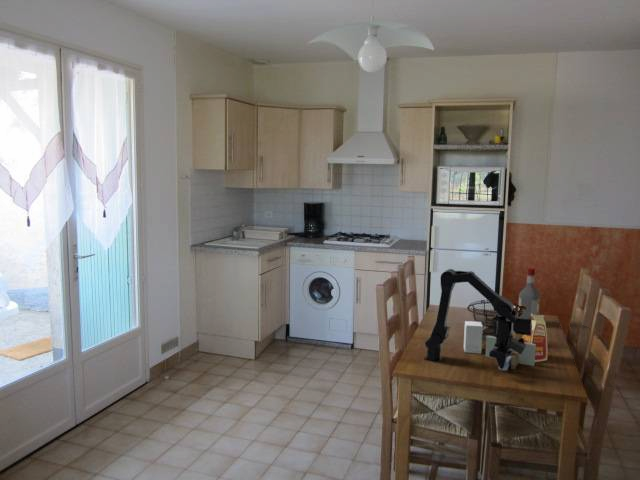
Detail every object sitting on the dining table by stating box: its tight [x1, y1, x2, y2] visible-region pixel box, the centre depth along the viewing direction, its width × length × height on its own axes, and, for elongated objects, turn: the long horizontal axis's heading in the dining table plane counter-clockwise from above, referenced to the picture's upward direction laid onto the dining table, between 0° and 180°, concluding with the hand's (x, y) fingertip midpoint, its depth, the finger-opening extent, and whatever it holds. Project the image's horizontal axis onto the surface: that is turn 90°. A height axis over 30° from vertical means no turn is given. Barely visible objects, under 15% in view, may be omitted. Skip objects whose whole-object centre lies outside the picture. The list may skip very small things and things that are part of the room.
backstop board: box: [485, 335, 536, 367], centre depth 224 cm, size 2×20×9 cm, turn 58°
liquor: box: [517, 267, 541, 318], centre depth 274 cm, size 9×9×30 cm
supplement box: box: [463, 320, 484, 354], centre depth 235 cm, size 7×7×13 cm
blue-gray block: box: [498, 356, 511, 371], centre depth 217 cm, size 9×3×3 cm, turn 147°
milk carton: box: [521, 314, 548, 363], centre depth 226 cm, size 9×9×20 cm
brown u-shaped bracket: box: [494, 351, 519, 370], centre depth 219 cm, size 7×8×5 cm
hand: (501, 368), depth 212 cm, fingers closed
